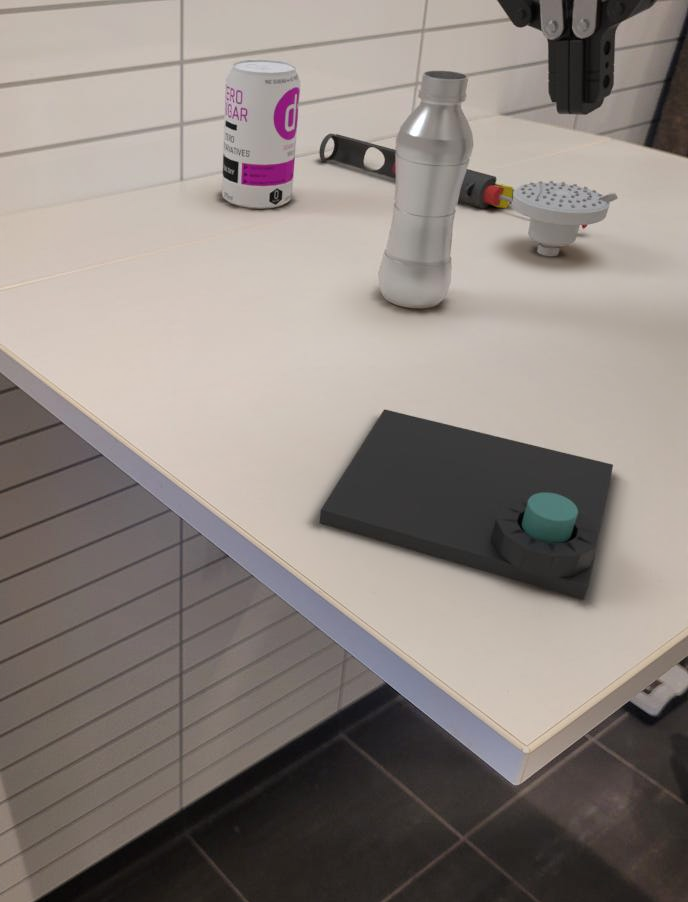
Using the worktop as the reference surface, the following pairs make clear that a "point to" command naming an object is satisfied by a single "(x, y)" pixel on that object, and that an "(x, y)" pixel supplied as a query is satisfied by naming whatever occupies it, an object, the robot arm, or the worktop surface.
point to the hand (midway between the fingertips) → (579, 110)
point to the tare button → (549, 517)
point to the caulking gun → (352, 151)
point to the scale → (470, 500)
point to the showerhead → (558, 212)
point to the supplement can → (260, 133)
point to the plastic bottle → (427, 193)
